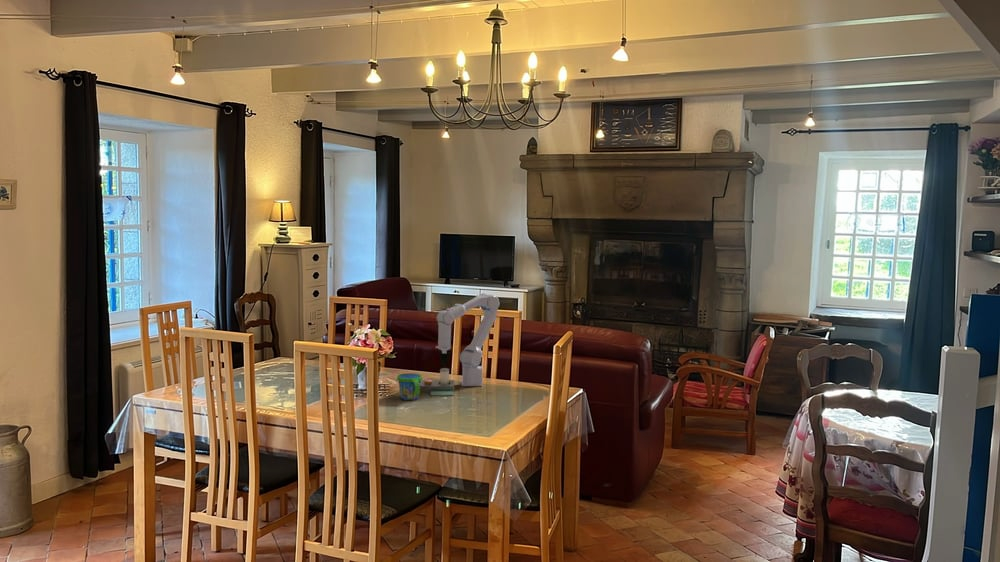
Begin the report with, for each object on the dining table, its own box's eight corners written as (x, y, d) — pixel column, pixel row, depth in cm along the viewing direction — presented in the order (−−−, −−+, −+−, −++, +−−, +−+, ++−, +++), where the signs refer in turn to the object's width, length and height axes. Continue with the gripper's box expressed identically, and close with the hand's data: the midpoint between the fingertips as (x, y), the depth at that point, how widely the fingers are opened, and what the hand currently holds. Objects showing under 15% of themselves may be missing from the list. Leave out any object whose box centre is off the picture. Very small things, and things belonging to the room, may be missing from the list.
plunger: (432, 386, 340) (432, 379, 340) (431, 387, 337) (431, 381, 336) (424, 386, 340) (424, 379, 340) (424, 387, 336) (424, 381, 336)
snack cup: (427, 401, 314) (427, 378, 313) (403, 404, 310) (403, 380, 309) (415, 393, 328) (415, 371, 327) (392, 395, 323) (392, 373, 323)
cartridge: (448, 387, 341) (448, 368, 340) (448, 389, 337) (448, 370, 336) (440, 387, 341) (440, 368, 340) (440, 389, 337) (440, 370, 336)
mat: (453, 392, 331) (453, 391, 331) (453, 396, 325) (453, 394, 325) (430, 392, 330) (430, 391, 330) (430, 396, 324) (430, 394, 324)
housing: (454, 385, 345) (454, 380, 345) (454, 391, 333) (454, 386, 333) (421, 385, 344) (422, 380, 344) (421, 391, 332) (421, 386, 332)
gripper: (436, 334, 343) (435, 363, 345) (435, 339, 329) (434, 369, 330) (451, 334, 344) (450, 363, 345) (451, 339, 330) (450, 369, 331)
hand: (443, 366), depth 338 cm, fingers closed
